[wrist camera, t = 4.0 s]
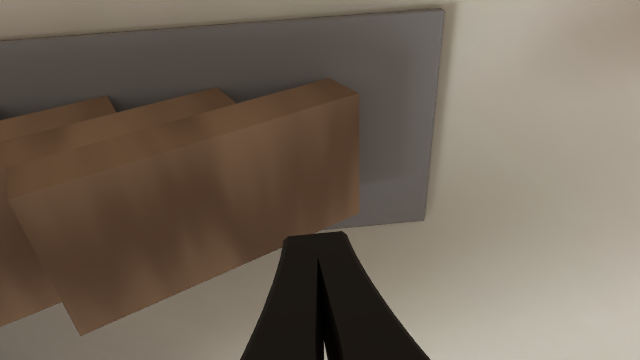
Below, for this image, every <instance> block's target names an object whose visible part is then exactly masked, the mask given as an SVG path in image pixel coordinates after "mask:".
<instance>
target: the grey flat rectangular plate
mask: <svg viewBox="0 0 640 360" xmlns="http://www.w3.org/2000/svg"><path fill="white" fill-rule="evenodd" d="M443 21H444V10H443V9H442V8H439V9H425V10H412V11H398V12H385V13H371V14H357V15H344V16H330V17H317V18H303V19H290V20H276V21H263V22H249V23H235V24H222V25H208V26H195V27H181V28H168V29H154V30H141V31H127V32H113V33H100V34H86V35H73V36H59V37H46V38H32V39H19V40H5V41H0V121H1V120H5V119H9V118H13V117H18V116H22V115H26V114H30V113H35V112H39V111H43V110H47V109H52V108H56V107H60V106H64V105H68V104H73V103H77V102H81V101H85V100H90V99H94V98H98V97H102V96H107V97H108V98H109V100H110V102H111V104H112V105H113V107H114V109H115V111H116V112H117V113H118V112H121V111H125V110H129V109H133V108H137V107H141V106H145V105H149V104H153V103H157V102H161V101H165V100H168V99H172V98H176V97H180V96H184V95H188V94H192V93H196V92H200V91H204V90H208V89H211V88H215V87H217V88H218V89H220V90H221V91H222V92H223V93H224V94H226V95H227V96H228V97H229V98H231V99H232V100H233V101H234V102H235V103H241V102H244V101H248V100H252V99H255V98H259V97H262V96H266V95H270V94H273V93H277V92H280V91H284V90H288V89H291V88H295V87H299V86H302V85H306V84H309V83H313V82H317V81H320V80H324V79H327V78H330V79H332V80H334V81H336V82H338V83H340V84H342V85H344V86H346V87H348V88H349V89H351V90H353V91H355V92H357V93H359V212H360V213H359V214H356V215H354V216H352V217H350V218H347V219H345V220H343V221H341V222H338V223H336V224H334V225H331V226H329V227H327V228H325V229H322V230H328V229H338V228H349V227H360V226H371V225H382V224H393V223H404V222H415V221H424V218H425V208H426V197H427V187H428V177H429V166H430V156H431V146H432V135H433V125H434V114H435V104H436V94H437V83H438V73H439V62H440V52H441V42H442V31H443Z"/></svg>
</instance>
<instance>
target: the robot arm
mask: <svg viewBox="0 0 640 360" xmlns="http://www.w3.org/2000/svg"><path fill="white" fill-rule="evenodd" d="M324 343H325V348H326V353H327V358H328V360H430V358H429V357H428V356H427V355H426V354H425V353H424V351H423V350H422V349H421V348H420V347H419V345H418V344H417V343H416V342H415V341H414V339H413V338H412V337H411V336H410V334H409V333H408V332H407V330H406V329H405V328H404V327H403V325H402V324H401V323H400V321H399V320H398V319H397V317H396V316H395V315H394V313H393V312H392V311H391V309H390V308H389V306H388V305H387V304H386V302H385V301H384V299H383V298H382V296H381V295H380V293H379V292H378V290H377V289H376V287H375V286H374V284H373V283H372V281H371V280H370V278H369V277H368V275H367V273H366V272H365V270H364V268H363V266H362V265H361V263H360V261H359V259H358V258H357V256H356V254H355V252H354V250H353V248H352V246H351V244H350V242H349V239H348V237H347V235H346V234H345V233H344V232H342V231H339V232H328V233H317V234H306V235H295V236H288V237H287V238H286V239H284V240H283V247H282V252H281V257H280V261H279V265H278V268H277V271H276V275H275V278H274V281H273V284H272V287H271V289H270V292H269V295H268V297H267V300H266V303H265V305H264V308H263V311H262V313H261V315H260V318H259V320H258V322H257V324H256V327H255V329H254V331H253V333H252V335H251V338H250V340H249V342H248V344H247V347H246V349H245V351H244V353H243V355H242V357H241V359H240V360H324Z"/></svg>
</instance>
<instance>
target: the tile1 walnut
mask: <svg viewBox="0 0 640 360" xmlns="http://www.w3.org/2000/svg"><path fill="white" fill-rule="evenodd" d="M6 177H7V199H8V202H9V204H10V206H11V207H12V209H13V211H14V213H15V215H16V217H17V219H18V220H19V222H20V224H21V226H22V228H23V230H24V232H25V234H26V235H27V237H28V239H29V241H30V243H31V245H32V247H33V248H34V250H35V252H36V254H37V256H38V258H39V260H40V261H41V263H42V265H43V267H44V269H45V271H46V273H47V275H48V276H49V278H50V280H51V282H52V284H53V286H54V288H55V289H56V291H57V293H58V295H59V297H60V299H61V301H62V302H63V304H64V306H65V308H66V310H67V312H68V314H69V316H70V317H71V319H72V321H73V323H74V325H75V327H76V329H77V330H78V332H79V334H80V336H81V335H84V334H86V333H88V332H91V331H93V330H95V329H97V328H100V327H102V326H104V325H106V324H109V323H111V322H113V321H116V320H118V319H120V318H122V317H125V316H127V315H129V314H131V313H134V312H136V311H138V310H141V309H143V308H145V307H147V306H150V305H152V304H154V303H156V302H159V301H161V300H163V299H166V298H168V297H170V296H172V295H175V294H177V293H179V292H181V291H184V290H186V289H188V288H191V287H193V286H195V285H197V284H200V283H202V282H204V281H206V280H209V279H211V278H213V277H216V276H218V275H220V274H222V273H225V272H227V271H229V270H231V269H234V268H236V267H238V266H241V265H243V264H245V263H247V262H250V261H252V260H254V259H256V258H259V257H261V256H263V255H266V254H268V253H270V252H272V251H275V250H277V249H279V248H281V247H283V240H284V239H286V238H287V237H288V236H295V235H306V234H313V233H316V232H318V231H320V230H322V229H325V228H327V227H329V226H331V225H334V224H336V223H338V222H341V221H343V220H345V219H347V218H350V217H352V216H354V215H356V214H359V213H360V212H359V93H357V92H355V91H353V90H351V89H349V88H348V87H346V86H344V85H342V84H340V83H338V82H336V81H334V80H332V79H330V78H327V79H324V80H320V81H317V82H313V83H309V84H306V85H302V86H299V87H295V88H291V89H288V90H284V91H280V92H277V93H273V94H270V95H266V96H262V97H259V98H255V99H252V100H248V101H244V102H241V103H237V104H234V105H230V106H226V107H223V108H219V109H215V110H212V111H208V112H205V113H201V114H197V115H194V116H190V117H187V118H183V119H179V120H176V121H172V122H169V123H165V124H161V125H158V126H154V127H150V128H147V129H143V130H140V131H136V132H132V133H129V134H125V135H122V136H118V137H114V138H111V139H107V140H104V141H100V142H96V143H93V144H89V145H86V146H82V147H78V148H75V149H71V150H67V151H64V152H60V153H57V154H53V155H49V156H46V157H42V158H39V159H35V160H31V161H28V162H24V163H21V164H17V165H13V166H10V167H6Z"/></svg>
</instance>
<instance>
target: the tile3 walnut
mask: <svg viewBox="0 0 640 360" xmlns="http://www.w3.org/2000/svg"><path fill="white" fill-rule="evenodd" d="M114 113H117V112H116V111H115V109H114V107H113V105H112V104H111V102H110V100H109V98H108V97H107V96H102V97H98V98H94V99H90V100H85V101H81V102H77V103H73V104H68V105H64V106H60V107H56V108H52V109H47V110H43V111H39V112H35V113H30V114H26V115H22V116H18V117H13V118H9V119H5V120H1V121H0V142H4V141H8V140H12V139H16V138H20V137H24V136H28V135H32V134H35V133H39V132H43V131H47V130H51V129H55V128H59V127H63V126H67V125H71V124H75V123H78V122H82V121H86V120H90V119H94V118H98V117H102V116H106V115H110V114H114Z"/></svg>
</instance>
